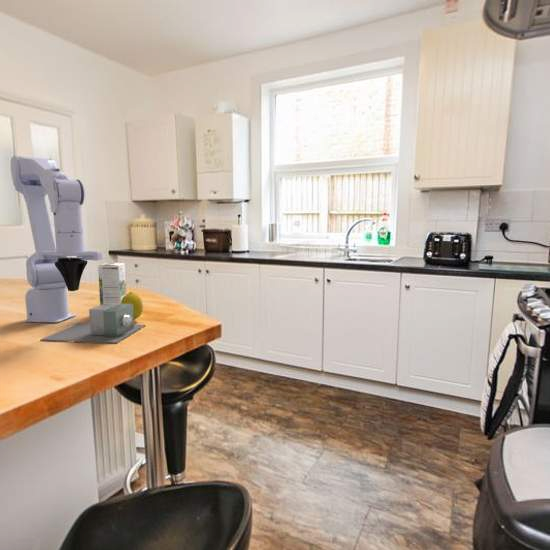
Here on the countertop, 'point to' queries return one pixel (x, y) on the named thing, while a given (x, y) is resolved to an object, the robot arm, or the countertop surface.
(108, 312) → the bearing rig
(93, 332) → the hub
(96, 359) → the countertop surface
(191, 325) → the countertop surface
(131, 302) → the lemon
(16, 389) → the countertop surface
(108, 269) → the syrup box
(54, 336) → the mat
